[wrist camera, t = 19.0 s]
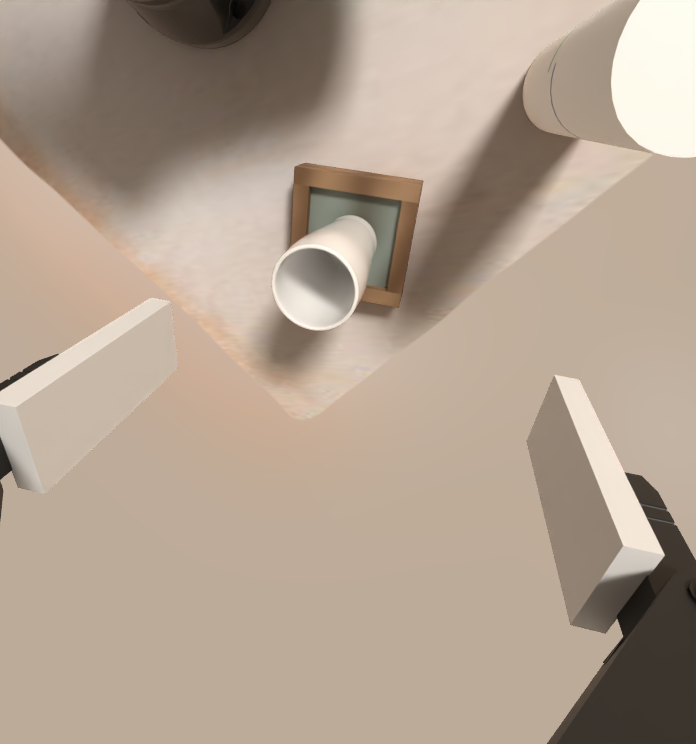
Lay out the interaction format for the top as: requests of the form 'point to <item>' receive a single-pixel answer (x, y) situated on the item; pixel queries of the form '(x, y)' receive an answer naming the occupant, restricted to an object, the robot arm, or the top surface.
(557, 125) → the cylindrical container
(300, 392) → the top surface
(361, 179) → the wooden tray
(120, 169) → the top surface
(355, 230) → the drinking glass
